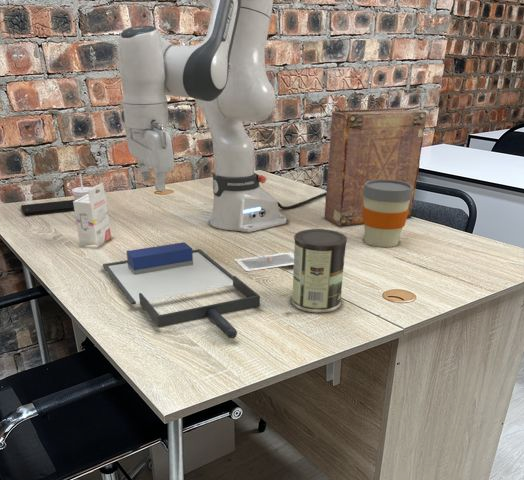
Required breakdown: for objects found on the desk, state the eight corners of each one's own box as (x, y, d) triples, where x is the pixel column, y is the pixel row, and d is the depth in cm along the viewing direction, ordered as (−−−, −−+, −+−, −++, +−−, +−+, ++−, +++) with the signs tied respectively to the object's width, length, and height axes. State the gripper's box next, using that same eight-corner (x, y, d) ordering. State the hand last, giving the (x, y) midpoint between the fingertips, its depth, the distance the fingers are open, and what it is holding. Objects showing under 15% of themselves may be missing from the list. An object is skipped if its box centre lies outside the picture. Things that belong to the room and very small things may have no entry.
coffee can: (329, 290, 122) (334, 226, 114) (348, 310, 113) (355, 243, 106) (284, 294, 119) (287, 230, 112) (300, 315, 110) (305, 247, 103)
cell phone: (87, 208, 171) (86, 205, 171) (25, 215, 164) (24, 212, 163) (81, 201, 178) (80, 198, 178) (21, 208, 171) (20, 205, 170)
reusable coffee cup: (413, 241, 151) (422, 185, 143) (388, 252, 143) (397, 193, 135) (374, 231, 158) (381, 177, 151) (348, 241, 150) (354, 184, 142)
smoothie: (71, 225, 157) (64, 174, 150) (86, 219, 163) (79, 169, 156) (90, 228, 155) (83, 176, 148) (104, 222, 161) (98, 172, 154)
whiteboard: (200, 255, 139) (199, 248, 138) (240, 288, 121) (240, 281, 120) (103, 270, 129) (102, 263, 128) (132, 309, 111) (131, 302, 110)
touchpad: (305, 267, 132) (305, 258, 131) (246, 275, 127) (246, 266, 126) (290, 256, 139) (291, 247, 138) (234, 264, 133) (234, 255, 132)
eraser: (185, 257, 133) (184, 241, 131) (193, 264, 130) (192, 248, 128) (128, 267, 127) (126, 250, 125) (134, 275, 124) (133, 257, 122)
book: (393, 209, 177) (407, 107, 162) (411, 217, 170) (427, 111, 155) (323, 218, 168) (332, 110, 153) (339, 227, 161) (350, 114, 146)
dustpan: (140, 308, 112) (138, 293, 110) (235, 290, 120) (234, 275, 119) (178, 358, 95) (177, 340, 94) (284, 332, 104) (285, 316, 102)
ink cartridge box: (94, 236, 149) (86, 180, 142) (111, 238, 149) (105, 182, 141) (79, 247, 142) (70, 188, 135) (97, 248, 141) (89, 190, 134)
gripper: (179, 123, 108) (184, 195, 115) (146, 110, 124) (152, 173, 131) (147, 125, 105) (154, 198, 113) (118, 111, 121) (125, 176, 128)
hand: (153, 185), depth 122 cm, fingers open, 8 cm apart
